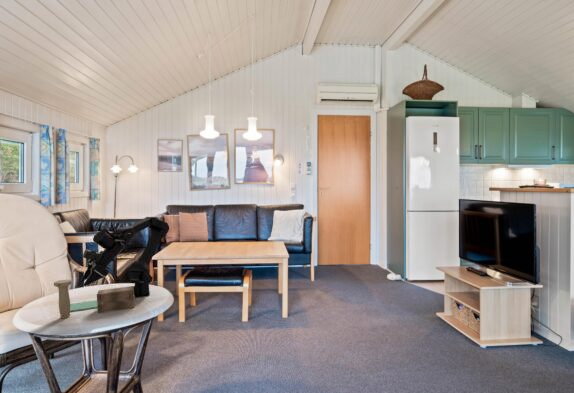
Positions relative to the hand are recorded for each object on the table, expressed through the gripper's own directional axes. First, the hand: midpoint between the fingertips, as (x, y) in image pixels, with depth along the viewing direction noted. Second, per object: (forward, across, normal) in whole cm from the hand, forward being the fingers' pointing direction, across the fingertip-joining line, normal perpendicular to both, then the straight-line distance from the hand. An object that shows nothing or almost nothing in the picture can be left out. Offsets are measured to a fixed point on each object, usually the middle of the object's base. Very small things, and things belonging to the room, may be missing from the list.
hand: (82, 283), depth 148 cm
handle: (+14, 0, +4) cm, 15 cm away
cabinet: (+1, +3, +18) cm, 18 cm away
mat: (+9, -10, +9) cm, 16 cm away
